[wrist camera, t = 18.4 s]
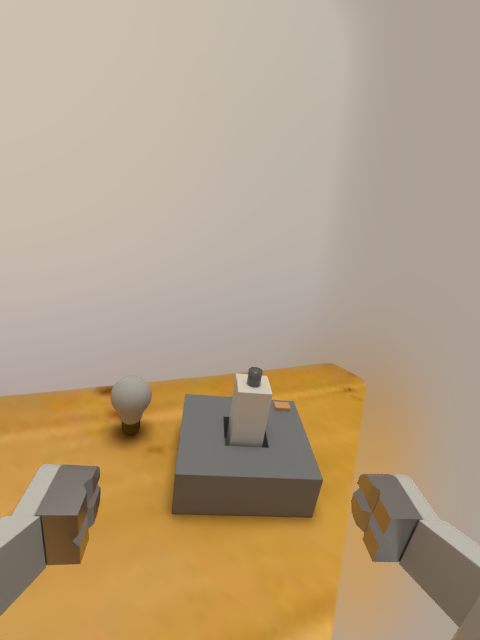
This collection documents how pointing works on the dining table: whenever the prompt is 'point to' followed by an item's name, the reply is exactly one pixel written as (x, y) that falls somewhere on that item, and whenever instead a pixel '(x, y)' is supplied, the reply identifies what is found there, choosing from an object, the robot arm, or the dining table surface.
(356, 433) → the dining table surface
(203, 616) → the dining table surface
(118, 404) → the light bulb
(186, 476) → the socket housing
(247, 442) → the plug
